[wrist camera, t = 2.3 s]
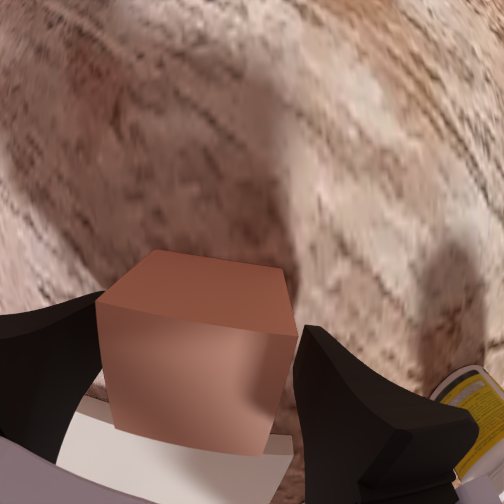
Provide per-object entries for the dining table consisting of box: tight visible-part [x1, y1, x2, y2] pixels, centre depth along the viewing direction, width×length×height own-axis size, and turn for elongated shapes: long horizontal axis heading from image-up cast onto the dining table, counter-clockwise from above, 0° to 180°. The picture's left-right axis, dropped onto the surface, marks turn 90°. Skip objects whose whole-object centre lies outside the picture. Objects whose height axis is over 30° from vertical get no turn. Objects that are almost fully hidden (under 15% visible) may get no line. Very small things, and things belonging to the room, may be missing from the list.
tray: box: [56, 395, 294, 504], centre depth 15 cm, size 20×14×2 cm
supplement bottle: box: [430, 365, 504, 502], centre depth 9 cm, size 5×5×8 cm
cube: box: [95, 249, 298, 457], centre depth 10 cm, size 5×5×5 cm
